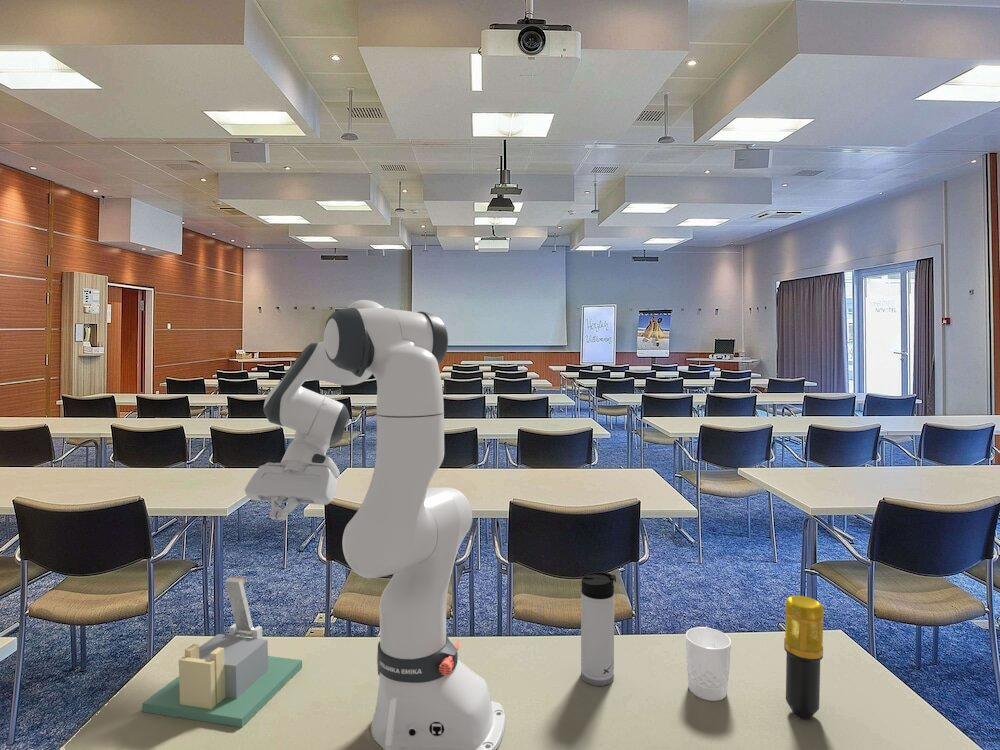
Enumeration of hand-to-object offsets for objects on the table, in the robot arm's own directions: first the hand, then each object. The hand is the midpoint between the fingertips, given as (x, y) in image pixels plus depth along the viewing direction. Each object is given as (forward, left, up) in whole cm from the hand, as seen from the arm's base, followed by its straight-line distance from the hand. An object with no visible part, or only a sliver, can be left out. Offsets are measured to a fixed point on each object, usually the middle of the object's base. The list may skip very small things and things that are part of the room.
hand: (277, 518), depth 119 cm
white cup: (-88, -2, -28) cm, 92 cm away
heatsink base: (0, +16, -27) cm, 32 cm away
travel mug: (-68, -2, -28) cm, 73 cm away
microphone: (-106, +1, -28) cm, 110 cm away
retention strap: (0, +13, -14) cm, 19 cm away
